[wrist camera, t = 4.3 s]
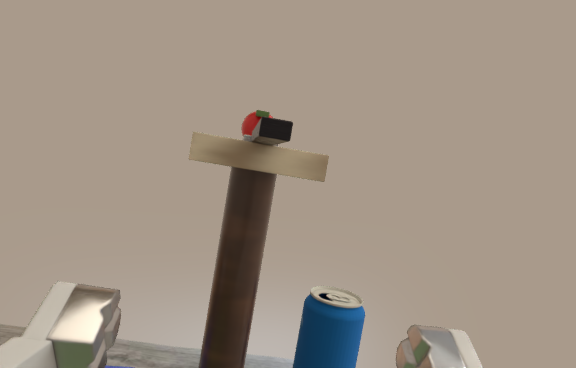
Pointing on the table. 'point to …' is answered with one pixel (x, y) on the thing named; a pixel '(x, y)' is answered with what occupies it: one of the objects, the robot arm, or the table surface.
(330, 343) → the beverage can
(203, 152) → the stand
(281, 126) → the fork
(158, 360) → the table surface
